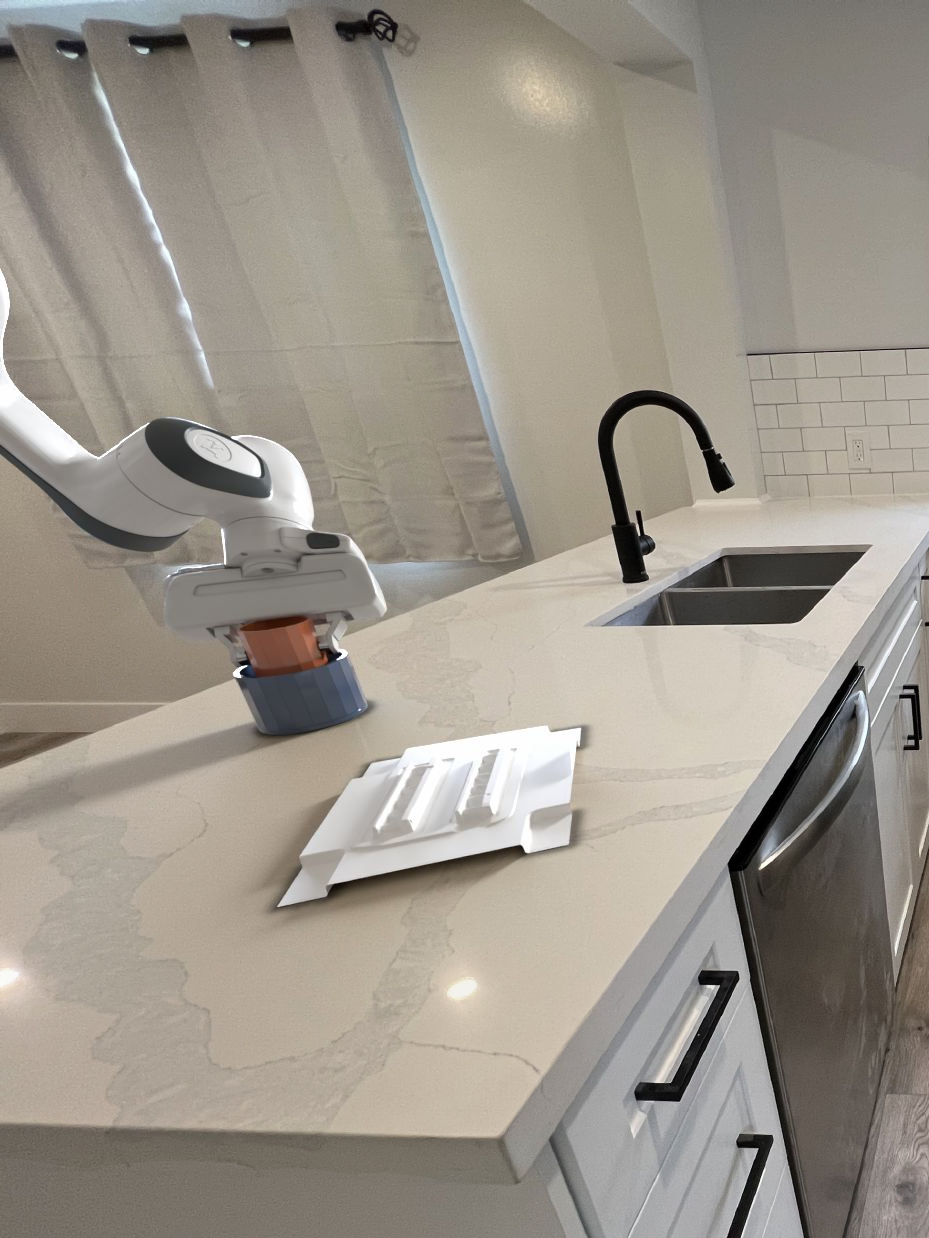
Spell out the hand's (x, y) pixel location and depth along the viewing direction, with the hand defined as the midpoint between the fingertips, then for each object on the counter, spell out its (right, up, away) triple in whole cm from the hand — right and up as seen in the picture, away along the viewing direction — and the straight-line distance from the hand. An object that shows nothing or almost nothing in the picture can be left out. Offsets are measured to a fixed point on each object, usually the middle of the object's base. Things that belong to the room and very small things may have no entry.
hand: (287, 657), depth 93 cm
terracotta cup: (0, -4, +3) cm, 5 cm away
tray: (+32, -16, -17) cm, 39 cm away
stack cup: (0, -7, +4) cm, 8 cm away
